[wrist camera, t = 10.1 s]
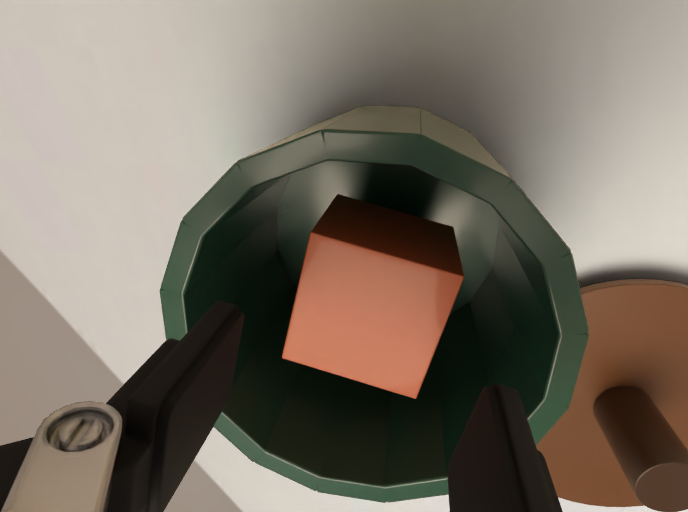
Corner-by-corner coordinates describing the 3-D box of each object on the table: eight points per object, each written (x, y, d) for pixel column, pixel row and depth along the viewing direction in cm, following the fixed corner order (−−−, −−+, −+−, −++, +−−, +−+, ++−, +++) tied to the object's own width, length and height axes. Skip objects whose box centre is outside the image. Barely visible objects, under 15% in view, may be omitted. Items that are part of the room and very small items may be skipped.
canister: (535, 112, 20) (642, 145, 10) (491, 351, 25) (536, 528, 15) (262, 99, 22) (135, 119, 12) (269, 327, 26) (183, 471, 17)
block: (454, 226, 18) (465, 276, 14) (417, 327, 20) (416, 399, 16) (337, 193, 19) (310, 231, 14) (311, 295, 21) (281, 358, 16)
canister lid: (814, 287, 21) (962, 367, 15) (711, 506, 26) (792, 626, 21) (499, 260, 23) (526, 322, 17) (462, 470, 28) (473, 570, 22)
